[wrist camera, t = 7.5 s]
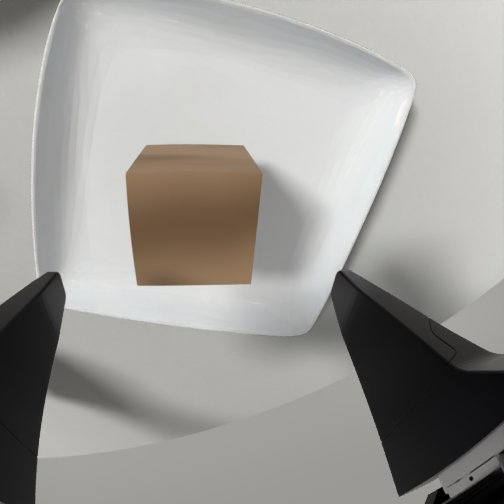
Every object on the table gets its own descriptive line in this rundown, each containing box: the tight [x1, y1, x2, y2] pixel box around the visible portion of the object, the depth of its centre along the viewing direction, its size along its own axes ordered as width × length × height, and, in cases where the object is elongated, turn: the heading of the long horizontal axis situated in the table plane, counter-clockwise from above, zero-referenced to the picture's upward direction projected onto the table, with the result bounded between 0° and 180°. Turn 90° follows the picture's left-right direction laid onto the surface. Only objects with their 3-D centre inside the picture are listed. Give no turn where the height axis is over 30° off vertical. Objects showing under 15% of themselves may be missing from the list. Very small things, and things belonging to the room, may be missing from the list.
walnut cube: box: [126, 144, 263, 286], centre depth 14 cm, size 5×5×5 cm
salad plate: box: [31, 0, 417, 337], centre depth 18 cm, size 21×21×3 cm
